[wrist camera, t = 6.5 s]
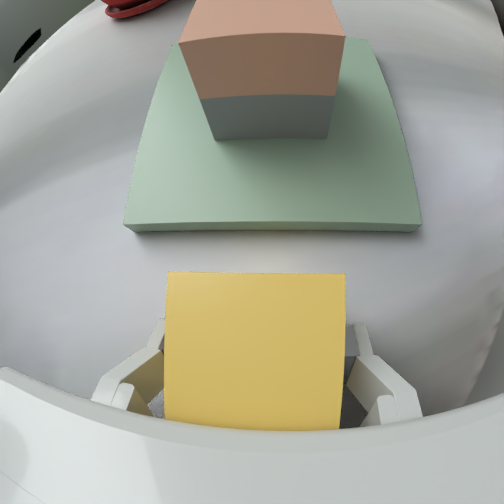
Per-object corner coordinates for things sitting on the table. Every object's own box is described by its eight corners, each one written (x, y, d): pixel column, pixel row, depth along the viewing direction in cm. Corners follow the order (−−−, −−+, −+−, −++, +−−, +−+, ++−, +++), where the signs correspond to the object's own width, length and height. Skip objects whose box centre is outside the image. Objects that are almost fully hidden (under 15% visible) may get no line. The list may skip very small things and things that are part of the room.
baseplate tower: (133, 231, 18) (36, 164, 9) (176, 56, 22) (145, -20, 13) (412, 231, 16) (501, 157, 7) (365, 51, 20) (381, -29, 11)
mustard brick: (219, 383, 15) (165, 434, 7) (221, 295, 16) (167, 271, 8) (310, 385, 14) (336, 445, 6) (312, 296, 15) (345, 273, 8)
